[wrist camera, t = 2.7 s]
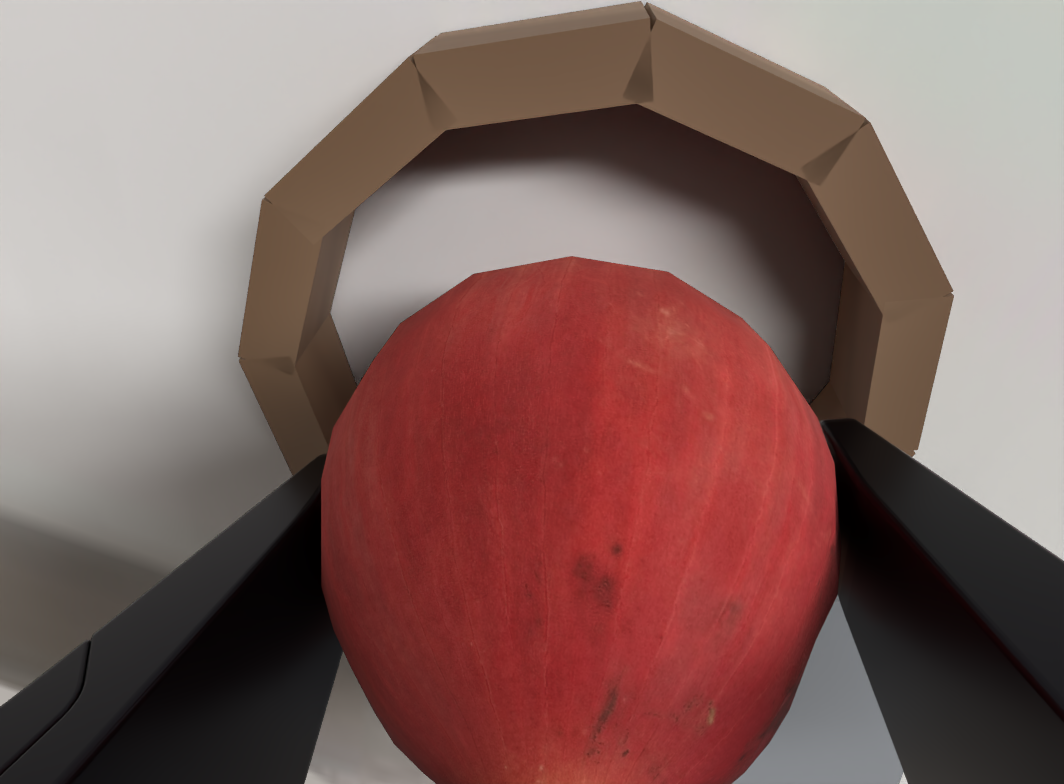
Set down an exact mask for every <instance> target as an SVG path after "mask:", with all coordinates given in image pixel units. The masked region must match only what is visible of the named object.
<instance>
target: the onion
mask: <svg viewBox="0 0 1064 784" xmlns="http://www.w3.org/2000/svg"><path fill="white" fill-rule="evenodd" d="M840 559H841V537H840V525H839V513H838V501H837V489H836V476H835V464H834V461H833V458H832V455H831V453H830V450H829V447H828V445H827V442H826V439H825V437H824V434H823V431H822V428H821V426H820V423H819V420H818V418H817V416H816V415H815V413H814V412H813V410H812V409H811V407H810V406H809V404H808V403H807V401H806V400H805V398H804V397H803V395H802V394H801V392H800V391H799V389H798V388H797V386H796V385H795V383H794V382H793V380H792V379H791V377H790V376H789V374H788V373H787V372H786V370H785V369H784V367H783V366H782V364H781V363H780V361H779V360H778V358H777V357H776V355H775V354H774V352H773V351H772V349H771V348H770V346H769V345H768V344H767V343H766V342H765V341H764V340H763V339H762V338H761V337H760V336H759V335H758V334H757V333H756V332H755V331H754V330H753V329H752V328H751V327H750V326H749V325H748V324H747V323H746V322H745V321H744V320H743V319H742V318H741V317H739V316H738V315H736V314H735V313H733V312H731V311H730V310H728V309H727V308H725V307H723V306H722V305H720V304H719V303H717V302H715V301H714V300H712V299H711V298H709V297H708V296H706V295H704V294H703V293H701V292H700V291H698V290H696V289H695V288H693V287H692V286H690V285H688V284H687V283H685V282H684V281H682V280H680V279H679V278H677V277H676V276H674V275H672V274H671V273H669V272H665V271H659V270H653V269H647V268H641V267H635V266H628V265H622V264H616V263H610V262H604V261H598V260H591V259H585V258H579V257H573V256H570V257H565V258H559V259H554V260H548V261H543V262H537V263H532V264H526V265H521V266H515V267H510V268H504V269H499V270H493V271H487V272H482V273H476V274H473V275H471V276H470V277H468V278H467V279H465V280H464V281H462V282H461V283H459V284H458V285H456V286H455V287H453V288H452V289H451V290H449V291H448V292H446V293H445V294H443V295H442V296H440V297H439V298H437V299H436V300H434V301H433V302H431V303H430V304H428V305H427V306H425V307H424V308H422V309H421V310H419V311H418V312H416V313H415V314H413V315H412V316H410V317H409V318H408V319H406V320H405V321H403V322H402V323H400V324H399V326H398V327H397V329H396V330H395V331H394V333H393V334H392V335H391V337H390V338H389V340H388V341H387V342H386V344H385V345H384V346H383V348H382V349H381V350H380V352H379V353H378V355H377V356H376V357H375V359H374V360H373V361H372V363H371V365H370V366H369V368H368V370H367V371H366V373H365V375H364V376H363V378H362V380H361V382H360V383H359V385H358V387H357V388H356V390H355V392H354V393H353V395H352V397H351V398H350V400H349V402H348V403H347V405H346V407H345V408H344V410H343V412H342V414H341V415H340V417H339V419H338V420H337V422H336V424H335V425H334V427H333V431H332V435H331V439H330V444H329V448H328V452H327V457H326V461H325V465H324V470H323V474H322V478H321V587H322V590H323V594H324V598H325V601H326V605H327V608H328V612H329V616H330V619H331V623H332V627H333V630H334V632H335V634H336V636H337V638H338V640H339V643H340V645H341V647H342V649H343V651H344V653H345V655H346V658H347V660H348V662H349V664H350V666H351V668H352V670H353V672H354V674H355V676H356V678H357V680H358V682H359V684H360V686H361V688H362V689H363V691H364V693H365V695H366V697H367V699H368V701H369V703H370V705H371V707H372V709H373V711H374V712H375V714H376V716H377V717H378V719H379V720H380V722H381V724H382V725H383V727H384V728H385V730H386V732H387V733H388V735H389V737H390V738H391V740H392V741H393V743H394V744H395V745H396V746H397V747H398V748H399V749H400V750H401V751H402V752H403V753H404V754H405V755H406V756H407V757H408V758H409V759H410V760H411V761H412V762H413V763H414V764H415V765H416V766H417V767H418V768H419V769H420V770H421V771H422V772H423V773H424V774H425V775H426V776H428V777H429V778H430V779H431V780H432V781H434V782H435V783H436V784H732V783H733V782H734V781H735V780H737V779H738V778H739V777H740V776H741V775H743V774H744V773H745V772H746V770H747V769H748V768H749V767H750V766H751V764H752V763H753V762H754V761H755V760H756V758H757V757H758V756H759V755H760V754H761V752H762V751H763V750H764V749H765V748H766V747H767V745H768V744H769V743H770V741H771V740H772V738H773V736H774V735H775V733H776V731H777V730H778V728H779V726H780V725H781V723H782V721H783V720H784V718H785V716H786V715H787V713H788V711H789V710H790V707H791V705H792V702H793V699H794V697H795V694H796V692H797V689H798V686H799V684H800V681H801V678H802V676H803V673H804V670H805V668H806V665H807V662H808V660H809V657H810V655H811V652H812V649H813V647H814V644H815V641H816V639H817V637H818V635H819V633H820V631H821V629H822V627H823V625H824V622H825V620H826V618H827V616H828V614H829V612H830V610H831V608H832V606H833V604H834V602H835V599H836V597H837V595H838V584H839V572H840Z"/></svg>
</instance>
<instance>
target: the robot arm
mask: <svg viewBox="0 0 1064 784" xmlns="http://www.w3.org/2000/svg"><path fill="white" fill-rule="evenodd" d="M819 423H820V426H821V428H822V431H823V434H824V437H825V439H826V442H827V445H828V447H829V450H830V453H831V455H832V458H833V461H834V464H835V476H836V489H837V501H838V513H839V525H840V537H841V559H840V572H839V584H838V597H839V601H840V604H841V607H842V609H843V612H844V615H845V618H846V621H847V623H848V626H849V629H850V631H851V634H852V637H853V639H854V642H855V645H856V647H857V650H858V653H859V655H860V658H861V660H862V663H863V666H864V668H865V671H866V674H867V676H868V679H869V682H870V684H871V687H872V690H873V692H874V695H875V697H876V700H877V703H878V705H879V708H880V711H881V713H882V716H883V719H884V721H885V724H886V727H887V729H888V732H889V735H890V737H891V740H892V742H893V745H894V748H895V750H896V753H897V756H898V758H899V761H900V764H901V766H902V769H903V772H904V774H905V777H906V779H907V782H908V784H1064V561H1063V560H1062V559H1060V558H1059V557H1057V556H1056V555H1054V554H1053V553H1052V552H1050V551H1049V550H1047V549H1046V548H1044V547H1043V546H1041V545H1040V544H1038V543H1037V542H1035V541H1034V540H1032V539H1031V538H1030V537H1028V536H1027V535H1025V534H1024V533H1022V532H1021V531H1019V530H1018V529H1016V528H1015V527H1013V526H1012V525H1010V524H1009V523H1008V522H1006V521H1005V520H1003V519H1002V518H1000V517H999V516H997V515H996V514H994V513H993V512H991V511H990V510H988V509H987V508H986V507H984V506H983V505H981V504H980V503H978V502H977V501H975V500H974V499H972V498H971V497H969V496H968V495H966V494H965V493H964V492H962V491H961V490H959V489H958V488H956V487H955V486H953V485H952V484H950V483H949V482H947V481H946V480H944V479H943V478H941V477H940V476H939V475H937V474H936V473H934V472H933V471H931V470H930V469H928V468H927V467H925V466H924V465H922V464H921V463H919V462H918V461H917V460H915V459H914V458H912V457H911V456H909V455H908V454H906V453H905V452H903V451H902V450H900V449H899V448H897V447H896V446H895V445H893V444H892V443H890V442H889V441H887V440H886V439H884V438H883V437H881V436H880V435H878V434H877V433H875V432H874V431H873V430H871V429H870V428H868V427H867V426H865V425H864V424H862V423H861V422H859V421H858V420H856V419H853V418H841V419H827V420H821V421H820V422H819ZM326 457H327V453H326V454H321V455H319V456H318V457H316V458H315V459H314V460H312V461H311V462H310V463H308V464H307V465H306V466H305V467H303V468H302V469H301V470H300V471H298V472H297V473H296V474H295V475H293V476H292V477H291V478H290V479H288V480H287V481H286V482H285V483H283V484H282V485H281V486H280V487H278V488H277V489H276V490H275V491H273V492H272V493H271V494H269V495H268V496H267V497H266V498H264V499H263V500H262V501H261V502H259V503H258V504H257V505H256V506H254V507H253V508H252V509H251V510H249V511H248V512H247V513H246V514H244V515H243V516H242V517H241V518H239V519H238V520H237V521H235V522H234V523H233V524H232V525H230V526H229V527H228V528H227V529H225V530H224V531H223V532H222V533H220V534H219V535H218V536H217V537H215V538H214V539H213V540H212V541H210V542H209V543H208V544H207V545H205V546H204V547H203V548H201V549H200V550H199V551H198V552H196V553H195V554H194V555H193V556H191V557H190V558H189V559H188V560H186V561H185V562H184V563H183V564H181V565H180V566H179V567H178V568H176V569H175V570H174V571H172V572H171V573H170V574H169V575H167V576H166V577H165V578H164V579H162V580H161V581H160V582H159V583H157V584H156V585H155V586H154V587H152V588H151V589H150V590H149V591H147V592H146V593H145V594H143V595H142V596H141V597H140V598H138V599H137V600H136V601H135V602H133V603H132V604H131V605H130V606H128V607H127V608H126V609H125V610H123V611H122V612H121V613H120V614H118V615H117V616H116V617H114V618H113V619H112V620H111V621H109V622H108V623H107V624H106V625H104V626H103V627H102V628H101V629H99V630H98V631H97V632H96V633H94V634H93V635H92V638H91V640H86V641H84V642H83V643H81V644H80V645H79V646H78V647H77V648H75V649H74V650H73V651H72V652H70V653H69V654H68V655H67V656H65V657H64V658H63V659H61V660H60V661H59V662H58V663H56V664H55V665H54V666H53V667H51V668H50V669H49V670H47V671H46V672H45V673H43V674H42V675H41V676H40V677H38V678H37V679H36V680H34V681H33V682H32V683H31V684H29V685H28V686H27V687H25V688H24V689H23V690H21V691H20V692H19V693H18V694H16V695H15V696H14V697H12V698H11V699H10V700H8V701H7V702H6V703H5V704H3V705H2V706H0V784H304V783H305V780H306V776H307V773H308V769H309V766H310V762H311V759H312V756H313V752H314V749H315V745H316V742H317V738H318V735H319V731H320V728H321V725H322V721H323V718H324V714H325V711H326V707H327V704H328V700H329V697H330V694H331V690H332V687H333V683H334V680H335V676H336V673H337V669H338V666H339V663H340V659H341V656H342V652H343V649H342V647H341V645H340V643H339V640H338V638H337V636H336V634H335V632H334V630H333V627H332V623H331V619H330V616H329V612H328V608H327V605H326V601H325V598H324V594H323V590H322V587H321V478H322V474H323V470H324V465H325V461H326Z"/></svg>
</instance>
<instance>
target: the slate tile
mask: <svg viewBox="0 0 1064 784" xmlns="http://www.w3.org/2000/svg"><path fill="white" fill-rule="evenodd" d="M902 774H903V769H902V766H901V764H900V761H899V758H898V756H897V753H896V750H895V748H894V745H893V742H892V740H891V737H890V735H889V732H888V729H887V727H886V724H885V721H884V719H883V716H882V713H881V711H880V708H879V705H878V703H877V700H876V697H875V695H874V692H873V690H872V687H871V684H870V682H869V679H868V676H867V674H866V671H865V668H864V666H863V663H862V660H861V658H860V655H859V653H858V650H857V647H856V645H855V642H854V639H853V637H852V634H851V631H850V629H849V626H848V623H847V621H846V618H845V615H844V612H843V609H842V607H841V604H840V601H839V597H838V595H837V597H836V599H835V602H834V604H833V606H832V608H831V610H830V612H829V614H828V616H827V618H826V620H825V622H824V625H823V627H822V629H821V631H820V633H819V635H818V637H817V639H816V641H815V644H814V647H813V649H812V652H811V655H810V657H809V660H808V662H807V665H806V668H805V670H804V673H803V676H802V678H801V681H800V684H799V686H798V689H797V692H796V694H795V697H794V699H793V702H792V705H791V707H790V710H789V711H788V713H787V715H786V716H785V718H784V720H783V721H782V723H781V725H780V726H779V728H778V730H777V731H776V733H775V735H774V736H773V738H772V740H771V741H770V743H769V744H768V745H767V747H766V748H765V749H764V750H763V751H762V752H761V754H760V755H759V756H758V757H757V758H756V760H755V761H754V762H753V763H752V764H751V766H750V767H749V768H748V769H747V770H746V772H745V773H744V774H743V775H741V776H740V777H739V778H738V779H737V780H735V781H734V782H733V783H732V784H899V783H900V780H901V777H902Z"/></svg>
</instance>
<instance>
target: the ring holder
mask: <svg viewBox="0 0 1064 784" xmlns="http://www.w3.org/2000/svg"><path fill="white" fill-rule="evenodd" d="M630 104H639V105H641V106H643V107H646V108H648V109H650V110H652V111H654V112H657V113H659V114H661V115H663V116H666V117H668V118H670V119H672V120H674V121H677V122H679V123H681V124H683V125H686V126H688V127H690V128H692V129H694V130H697V131H699V132H701V133H703V134H706V135H708V136H710V137H712V138H714V139H717V140H719V141H721V142H723V143H725V144H728V145H730V146H732V147H734V148H737V149H739V150H741V151H743V152H745V153H748V154H750V155H752V156H754V157H757V158H759V159H761V160H763V161H765V162H768V163H770V164H772V165H774V166H777V167H779V168H781V169H783V170H785V171H788V172H790V173H792V174H794V175H796V177H797V179H798V180H799V182H800V184H801V186H802V187H803V189H804V191H805V193H806V194H807V196H808V198H809V200H810V201H811V203H812V205H813V207H814V208H815V210H816V212H817V214H818V215H819V217H820V219H821V221H822V222H823V224H824V226H825V228H826V229H827V231H828V233H829V235H830V236H831V238H832V240H833V242H834V243H835V245H836V247H837V249H838V250H839V252H840V254H841V256H842V257H843V259H844V261H845V264H844V272H843V280H842V287H841V295H840V303H839V311H838V319H837V327H836V334H835V342H834V350H833V358H832V366H831V374H830V381H829V383H828V384H827V385H826V386H825V388H824V389H823V390H822V391H821V392H820V394H819V395H818V396H817V397H816V398H815V400H814V401H813V402H812V403H811V405H810V407H811V409H812V410H813V412H814V413H815V415H816V416H817V418H818V420H819V422H820V421H821V420H827V419H841V418H853V419H856V420H858V421H859V422H861V423H862V424H864V425H865V426H867V427H868V428H870V429H871V430H873V431H874V432H875V433H877V434H878V435H880V436H881V437H883V438H884V439H886V440H887V441H889V442H890V443H892V444H893V445H895V446H896V447H897V448H899V449H900V450H902V451H903V452H905V453H906V454H908V455H909V456H911V457H913V456H914V455H915V452H914V450H918V446H919V442H920V438H921V434H922V429H923V425H924V421H925V417H926V412H927V408H928V404H929V400H930V395H931V391H932V387H933V383H934V378H935V374H936V370H937V366H938V361H939V357H940V353H941V349H942V344H943V340H944V336H945V332H946V327H947V323H948V319H949V315H950V310H951V306H952V302H953V298H954V296H953V294H952V293H951V292H953V289H952V287H951V285H950V283H949V281H948V279H947V277H946V275H945V273H944V271H943V269H942V267H941V265H940V263H939V261H938V259H937V257H936V255H935V253H934V251H933V249H932V247H931V245H930V243H929V241H928V239H927V237H926V234H925V232H924V230H923V228H922V226H921V224H920V222H919V220H918V218H917V216H916V214H915V212H914V210H913V208H912V206H911V204H910V202H909V200H908V198H907V196H906V194H905V192H904V190H903V188H902V186H901V184H900V182H899V180H898V178H897V176H896V174H895V172H894V169H893V167H892V165H891V163H890V161H889V159H888V157H887V155H886V153H885V151H884V149H883V147H882V145H881V143H880V141H879V139H878V137H877V135H876V133H875V131H874V129H873V127H872V125H871V123H870V122H869V121H868V120H867V119H866V118H865V117H864V116H862V115H861V114H860V113H858V112H857V111H856V110H855V109H853V108H852V107H851V106H849V105H848V104H847V103H845V102H844V101H843V100H841V99H840V98H839V97H837V96H836V95H835V94H833V93H832V92H831V91H829V90H828V89H827V88H825V87H824V86H822V85H820V84H817V83H815V82H813V81H811V80H809V79H807V78H805V77H803V76H801V75H799V74H797V73H794V72H792V71H790V70H788V69H786V68H784V67H782V66H780V65H778V64H776V63H774V62H771V61H769V60H767V59H765V58H763V57H761V56H759V55H757V54H755V53H753V52H750V51H748V50H746V49H744V48H742V47H740V46H738V45H736V44H734V43H732V42H730V41H727V40H725V39H723V38H721V37H719V36H717V35H715V34H713V33H711V32H709V31H707V30H704V29H702V28H700V27H698V26H696V25H694V24H692V23H690V22H688V21H686V20H683V19H681V18H679V17H677V16H675V15H673V14H671V13H669V12H667V11H665V10H663V9H660V8H658V7H656V6H654V5H652V4H650V3H648V2H647V3H646V5H645V7H644V6H643V4H642V2H641V1H639V2H633V3H626V4H620V5H614V6H608V7H601V8H595V9H589V10H583V11H576V12H570V13H564V14H558V15H551V16H545V17H539V18H533V19H527V20H520V21H514V22H508V23H502V24H495V25H489V26H483V27H477V28H470V29H464V30H458V31H452V32H445V33H441V34H440V35H438V36H435V37H434V38H433V39H431V40H430V41H429V42H428V43H426V44H425V45H424V46H422V47H421V48H420V49H419V50H417V51H416V52H415V53H413V54H412V55H411V56H409V57H408V58H407V59H406V60H405V61H404V62H403V63H402V64H401V65H400V66H399V67H398V68H397V69H396V70H395V71H394V72H393V73H391V74H390V75H389V76H388V77H387V78H386V79H385V80H384V81H383V82H382V83H381V84H380V85H379V86H378V87H377V88H376V89H375V90H374V91H373V92H372V93H371V94H370V95H369V96H368V97H366V98H365V99H364V100H363V101H362V102H361V103H360V104H359V105H358V106H357V107H356V108H355V109H354V110H353V111H352V112H351V113H350V114H349V115H348V116H347V117H346V118H345V119H344V120H343V121H341V122H340V123H339V124H338V125H337V126H336V127H335V128H334V129H333V130H332V131H331V132H330V133H329V134H328V135H327V136H326V137H325V138H324V139H323V140H322V141H321V142H320V143H319V144H317V145H316V146H315V147H314V148H313V149H312V150H311V151H310V152H309V153H308V154H307V155H306V156H305V157H304V158H303V159H302V160H301V161H300V162H299V163H298V164H297V165H296V166H295V167H294V168H292V169H291V170H290V171H289V172H288V173H287V174H286V175H285V176H284V177H283V178H282V179H281V180H280V181H279V182H278V183H277V184H276V185H275V186H274V187H273V188H272V189H271V190H270V191H269V192H267V193H266V194H265V195H264V196H265V198H264V199H263V200H262V203H261V209H260V216H259V222H258V229H257V235H256V242H255V249H254V255H253V262H252V268H251V275H250V281H249V288H248V294H247V301H246V307H245V314H244V320H243V327H242V333H241V340H240V346H239V353H238V357H241V358H240V359H239V363H240V365H241V367H242V369H243V371H244V373H245V375H246V377H247V379H248V382H249V384H250V386H251V388H252V390H253V392H254V394H255V396H256V399H257V401H258V403H259V405H260V407H261V409H262V411H263V413H264V415H265V418H266V420H267V422H268V424H269V426H270V428H271V430H272V432H273V435H274V437H275V439H276V441H277V443H278V445H279V447H280V449H281V452H282V454H283V456H284V458H285V460H286V462H287V464H288V466H289V468H290V471H291V473H292V475H295V474H296V473H297V472H298V471H300V470H301V469H302V468H303V467H305V466H306V465H307V464H308V463H310V462H311V461H312V460H314V459H315V458H316V457H318V456H319V455H321V454H326V453H327V452H328V448H329V444H330V439H331V435H332V431H333V427H334V425H335V424H336V422H337V420H338V419H339V417H340V415H341V414H342V412H343V410H344V408H345V407H346V405H347V403H348V402H349V400H350V398H351V397H352V395H353V393H354V392H355V390H356V388H357V386H356V383H355V380H354V378H353V375H352V372H351V369H350V367H349V364H348V361H347V358H346V356H345V353H344V350H343V347H342V345H341V342H340V339H339V336H338V333H337V331H336V328H335V325H334V322H333V320H332V317H331V314H330V311H331V306H332V302H333V298H334V294H335V290H336V286H337V282H338V278H339V274H340V269H341V265H342V261H343V257H344V253H345V249H346V245H347V241H348V236H349V232H350V228H351V224H352V220H353V216H354V212H355V209H356V208H357V207H358V206H359V205H360V204H361V203H363V202H364V201H365V200H366V199H367V198H368V197H369V196H371V195H372V194H373V193H374V192H375V191H376V190H377V189H379V188H380V187H381V186H382V185H383V184H384V183H386V182H387V181H388V180H389V179H390V178H391V177H392V176H394V175H395V174H396V173H397V172H398V171H399V170H401V169H402V168H403V167H404V166H405V165H406V164H407V163H409V162H410V161H411V160H412V159H413V158H414V157H415V156H417V155H418V154H419V153H420V152H421V151H422V150H424V149H425V148H426V147H427V146H428V145H429V144H430V143H432V142H433V141H434V140H435V139H436V138H437V137H439V136H440V135H441V134H442V133H443V132H444V131H445V130H449V129H456V128H464V127H471V126H478V125H485V124H493V123H500V122H507V121H514V120H522V119H529V118H536V117H543V116H550V115H558V114H565V113H572V112H579V111H587V110H594V109H601V108H608V107H616V106H623V105H630Z"/></svg>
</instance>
